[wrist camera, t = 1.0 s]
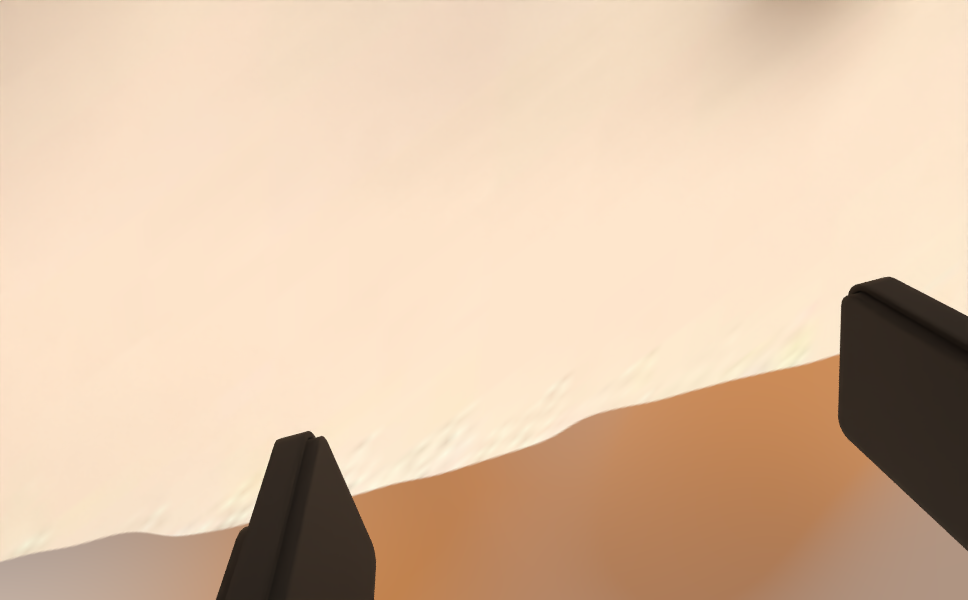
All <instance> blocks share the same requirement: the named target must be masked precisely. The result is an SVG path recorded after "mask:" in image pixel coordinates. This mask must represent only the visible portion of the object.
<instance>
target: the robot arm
mask: <svg viewBox="0 0 968 600" xmlns="http://www.w3.org/2000/svg"><path fill="white" fill-rule="evenodd" d="M839 372H840V373H839V405H838V419H839V424H840V427H841V429H842V431H843V433H844V434H845V436H846V437H847V438H848V439H849V440H850V441H851V442H852V443H853V444H854V445H855V446H856V447H857V448H859V450H860V451H862V452H863V453H864V454H865V455H866V456H867V457H868V458H869V459H870V460H871V461H872V462H873V463H874V464H876V466H878V467H879V468H880V469H881V470H882V471H883V472H884V473H885V474H886V475H887V476H888V477H889V478H890V479H892V480H893V481H894V482H895V483H896V484H897V485H898V486H899V487H900V488H901V489H902V490H903V491H904V492H905V493H906V494H907V495H909V496H910V497H911V498H912V499H913V500H914V501H915V502H916V503H917V504H918V505H919V506H920V507H921V508H922V509H924V510H925V511H926V512H927V513H928V514H929V515H930V516H931V517H932V518H933V519H934V520H935V521H936V522H937V523H938V524H939V525H941V526H942V527H943V528H944V529H945V530H946V531H947V532H948V533H949V534H950V535H951V536H952V537H954V539H955V540H957V541H958V542H959V543H960V544H961V545H962V546H963V547H964V548H965V549H966V550H967V551H968V316H966V315H964V314H962V313H960V312H958V311H957V310H955V309H953V308H951V307H949V306H947V305H945V304H943V303H941V302H939V301H937V300H935V299H933V298H931V297H930V296H928V295H926V294H924V293H922V292H920V291H918V290H916V289H914V288H912V287H910V286H908V285H906V284H904V283H903V282H901V281H899V280H897V279H895V278H892V277H884V278H880V279H876V280H872V281H869V282H865V283H861V284H857V285H854V286H853V287H852V288H851V289H850V291H849V294H848V296H846V297H844V298H843V300H842V304H841V332H840V369H839ZM375 572H376V559H375V552H374V547H373V544H372V542H371V539H370V537H369V535H368V533H367V530H366V528H365V526H364V524H363V521H362V519H361V517H360V514H359V512H358V510H357V508H356V505H355V503H354V501H353V499H352V496H351V494H350V492H349V489H348V487H347V485H346V483H345V480H344V478H343V476H342V474H341V471H340V469H339V467H338V465H337V462H336V460H335V458H334V455H333V453H332V451H331V449H330V446H329V444H328V442H327V440H326V439H325V437H323V436H320V437H317V438H315V436H314V434H313V433H312V432H310V431H307V432H303V433H299V434H296V435H292V436H288V437H285V438H281V439H278V440H276V442H275V444H274V447H273V450H272V453H271V456H270V460H269V463H268V466H267V469H266V472H265V475H264V479H263V482H262V485H261V488H260V491H259V494H258V497H257V501H256V504H255V507H254V510H253V513H252V516H251V519H250V523H249V526H248V527H245V528H243V529H242V530H241V531H240V533H239V535H238V537H237V539H236V541H235V544H234V547H233V550H232V553H231V557H230V559H229V562H228V565H227V569H226V571H225V574H224V577H223V580H222V583H221V586H220V589H219V592H218V595H217V598H216V600H374V589H375Z"/></svg>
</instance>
